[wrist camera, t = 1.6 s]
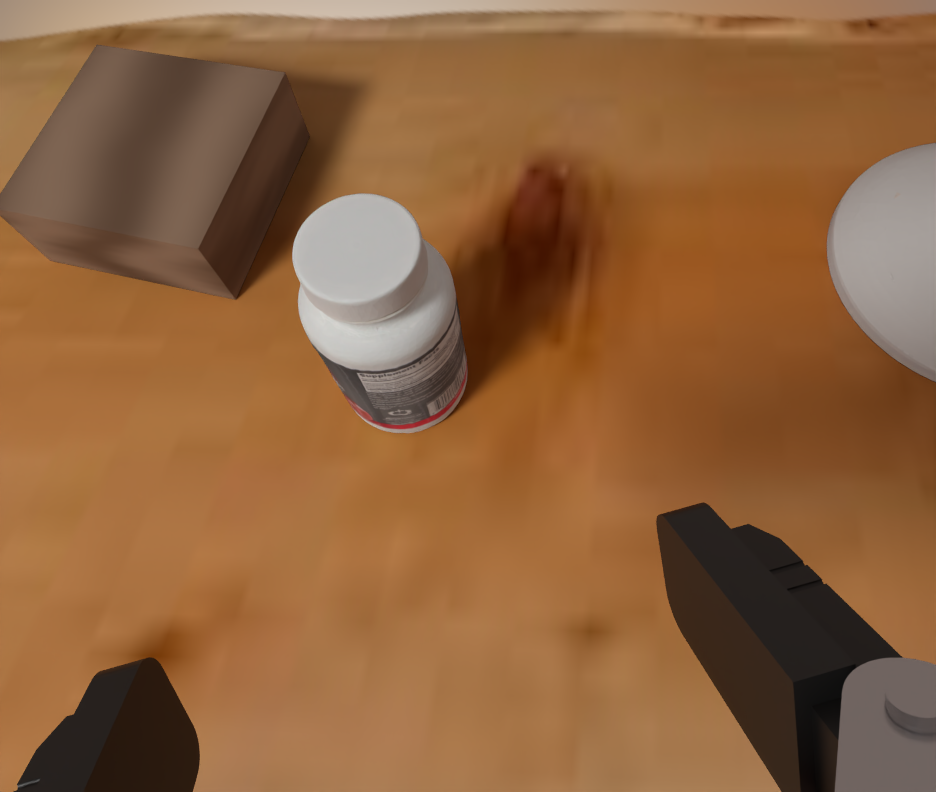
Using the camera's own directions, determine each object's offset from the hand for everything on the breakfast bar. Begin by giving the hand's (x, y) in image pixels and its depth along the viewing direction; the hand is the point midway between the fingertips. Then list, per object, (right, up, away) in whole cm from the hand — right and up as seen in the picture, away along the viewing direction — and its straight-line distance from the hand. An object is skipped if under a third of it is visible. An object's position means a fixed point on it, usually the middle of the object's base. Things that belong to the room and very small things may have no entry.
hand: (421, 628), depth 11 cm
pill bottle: (-2, +4, +19) cm, 19 cm away
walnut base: (-14, +14, +23) cm, 30 cm away
